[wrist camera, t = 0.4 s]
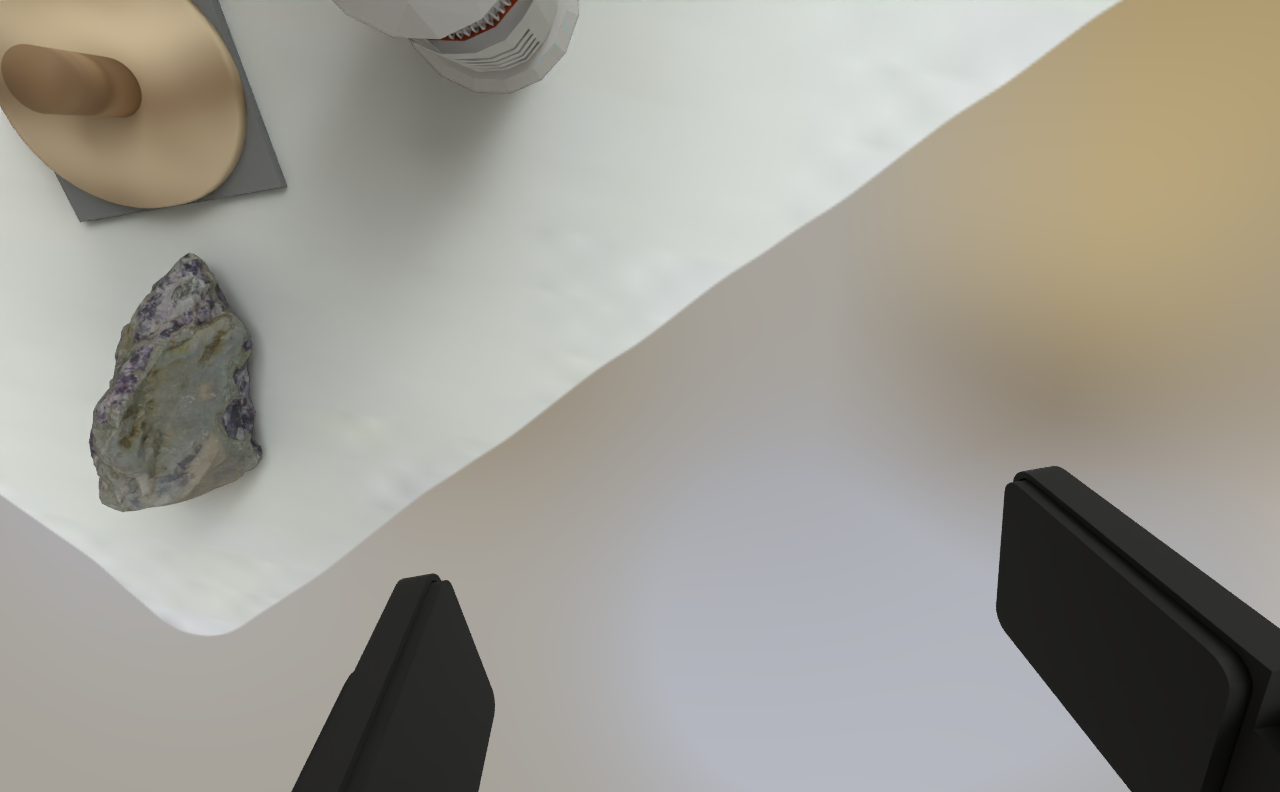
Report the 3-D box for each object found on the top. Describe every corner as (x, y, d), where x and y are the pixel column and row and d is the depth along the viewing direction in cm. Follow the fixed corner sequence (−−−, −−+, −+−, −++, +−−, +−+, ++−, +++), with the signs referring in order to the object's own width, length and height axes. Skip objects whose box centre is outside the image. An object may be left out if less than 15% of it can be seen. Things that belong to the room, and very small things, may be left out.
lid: (-46, -23, 30) (-185, -58, 25) (187, -66, 30) (96, -110, 25) (80, 222, 35) (-15, 236, 30) (282, 187, 35) (222, 196, 29)
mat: (-34, -21, 31) (-46, -23, 30) (194, -63, 30) (186, -66, 30) (88, 220, 35) (79, 222, 35) (287, 186, 35) (281, 187, 34)
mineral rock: (209, 236, 36) (69, 270, 27) (358, 357, 39) (280, 425, 30) (99, 376, 39) (-59, 450, 30) (246, 478, 43) (145, 572, 33)
